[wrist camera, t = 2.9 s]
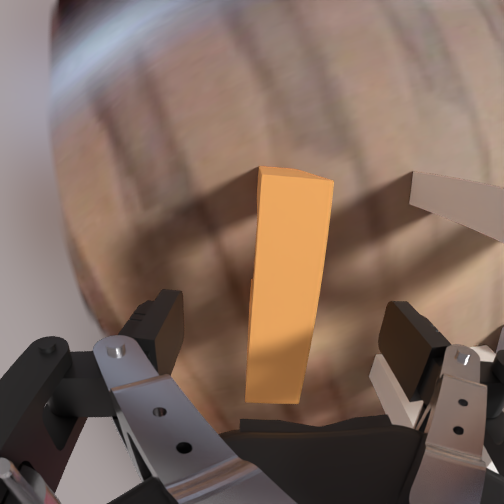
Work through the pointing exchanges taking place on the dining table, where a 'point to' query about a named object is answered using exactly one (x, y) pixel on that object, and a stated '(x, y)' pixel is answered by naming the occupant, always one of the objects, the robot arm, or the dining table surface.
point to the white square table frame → (467, 214)
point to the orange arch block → (285, 281)
